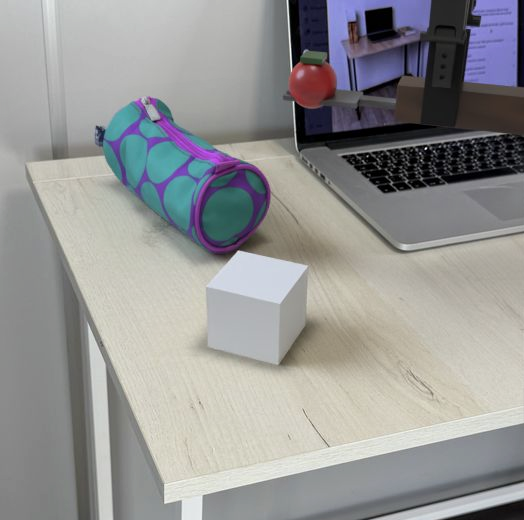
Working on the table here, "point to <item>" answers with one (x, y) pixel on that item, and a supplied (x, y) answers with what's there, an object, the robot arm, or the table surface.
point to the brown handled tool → (409, 98)
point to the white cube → (256, 306)
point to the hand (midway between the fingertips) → (440, 116)
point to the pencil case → (184, 176)
